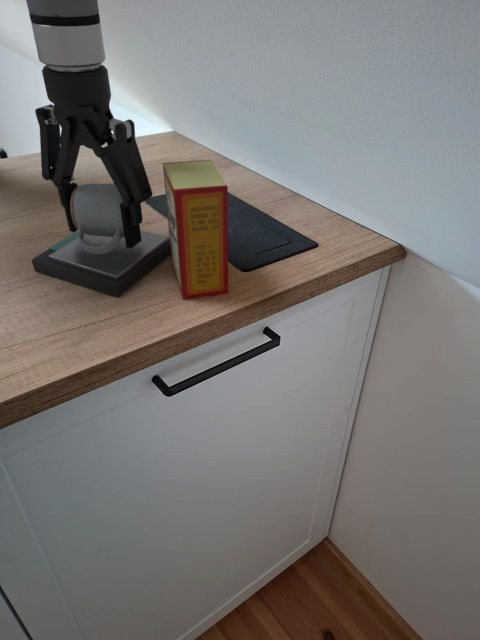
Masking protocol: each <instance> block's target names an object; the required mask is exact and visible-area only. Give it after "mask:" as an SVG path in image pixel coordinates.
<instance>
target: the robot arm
mask: <svg viewBox="0 0 480 640" xmlns="http://www.w3.org/2000/svg"><path fill="white" fill-rule="evenodd" d="M25 2H26V6H27V10H28V14H29V20H30V23H31V28H32V33H33V38H34V43H35V47H36V48H35V49H36V52H37V56H38V61H39V62H40V63H41V64H43V65H44V66H43V68H42V70H41V74H42V79H43V83H44V87H45V92H46V97H47V99H48V101H49V102H50V104H47V105H43V106H41V107H37V108H35V110H34V114H35V117H36V120H37V124H38V127H39V145H40V146H39V147H40V164H41V177H42V179H44V180H45V181H50V182H52V183H53V185H54V187H55V188H56V189H57V193H58V197H59V198H58V199H59V202H60V205H61V207H62V208H64V209H63V210H64V212H65V213H64V214H65V217H66V221H67V225H68V230H69V232H71V233H75V232H77V231H78V230H77V229H76V227H75V225H74V223H73V220H72V216H71V210H70V202H71V196H72V193H73V191H74V189H75V188H76V187H78V186H79V185H78V183H76V182H73V181H75V180H76V178H74V172H75V168H76V165H77V160H78V157H79V153H80V148H81V147H84V148H87V149H90V150H92V152H93V154H94V156H96V157H97V158H99V159H100V160H101V162H102V165H103V166H104V168H105V169H106V171H107V174H108V175H109V177H110V179H111V180H112V183H114V184H115V186H116V187H117V189H118V191H119V193H120V195H121V197H122V198H123V200H124V202H123V203H121V204H120V210H121V216H122V223H123V229H124V236H125V242H126V247H127V248H130V249H131V248H132V247H134V246H135V245H136V244H138V243H139V242H141V241H142V239H141V232H140V230H141V225H140V224H142V223H143V220H144V219H143V210H142V203H144V202H145V201H147V200H149V199H151V198H152V197H153V191H152V187H151V184H150V181H149V178H148V175H147V171H146V169H145V166H144V162H143V159H142V155H141V153H140V149H139V146H138V143H137V140H136V128H135V127H136V126H135V122H134V121H133V119H126V120H121V119H117V118H115V117H114V115H113V113H112V110H111V108H110V103H111V99H112V92H111V85H110V77H109V71H108V68H107V67H106V66H105V65H104V64H103V63H104V62H105V61H106V51H105V45H104V37H103V32H102V30H103V29H102V25H101V24H102V23H101V17H100V9H99V1H98V0H25ZM51 103H52V104H51ZM105 144H106V145H105ZM104 145H105V146H104ZM130 192H131V194H130Z"/></svg>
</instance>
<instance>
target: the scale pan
mask: <svg viewBox="0 0 480 640" xmlns="http://www.w3.org/2000/svg"><path fill="white" fill-rule="evenodd" d="M140 232H141V239H142V241H141V242H139V243H138V244H136V245H135V246H134V247H132V248H131V249H130V248H127V247H126V242H125V238H121V240H120V242H119V244H118V245H117V247H116V248H114V249H113V250H112V251H110V252H108V253H105V254H92V253H89V252H87V251H86V250H84V249H83V247H82V246H81V244H80V242H79V240H78V238H77V239H75V240H74V241H72V242H70V243H69V244H67V245H65V246H64V247H62V248H61V249H59V250H57V251H56V252H54V253H52V254H51V255H49V259H50V261H53V262H57V263H60V264H63V265H66V266H70V267H73V268H76V269H80V270H83V271H86V272H89V273H93V274H96V275H99V276H103V277H106V278H109V279H112V280H116V281H118V280H119V279H121V278H122V277H123V276H124V275H126V274H127V273H128V272H130V271H131V270H132V269H134V268H135V267H136V266H137V265H139V264H140V263H141V262H143V261H144V260H145V259H147V258H148V257H149V256H150V255H152V254H153V253H154V252H156V251H157V250H158V249H160V248H161V247H162V246H163V245H165V244H166V243H167V242H168V238H169V237H167V236H165V235H161V234H156V233H153V232H149V231H145V230H141V229H140ZM112 238H113V237H107V236H91V235H86V234H84V239H83V241H84V243H86V244H87V245H90V246H92V247H99V246H102V245H104V244H106V243H108V242H109V241H110V240H111V239H112Z"/></svg>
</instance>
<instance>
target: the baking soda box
mask: <svg viewBox="0 0 480 640" xmlns="http://www.w3.org/2000/svg"><path fill="white" fill-rule="evenodd" d="M162 170H163V180H164V181H163V182H164V193H165V203H166V213H167V224H168V236H169V239H170V247H171V255H170V256H171V266H172V269H173V272H174V275H175V276H174V277H175V279H176V281H177V285H178V288H179V291H180V294H181V297H182V300H190V299H197V298H198V299H199V298H204V297H210V296H211V297H212V296H220V295H226V294H229V190H228V188H229V187H228V185H227V183H226V181H225V180H224V178H223V176H222V175H221V174H220V172H219V171H218V169H217V167H216V166H215V164H214V163H213V161H212V160H211V159H201V160H189V161H188V160H187V161H173V162H162Z"/></svg>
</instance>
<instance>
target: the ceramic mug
mask: <svg viewBox="0 0 480 640" xmlns="http://www.w3.org/2000/svg"><path fill="white" fill-rule="evenodd" d="M130 194H131V192H130ZM123 202H124V200H123V198H122V197H121V195H120V193H119V191H118V189H117V187H116V186H115V184H114V182H112V183H86V184H81V185H78V187H76V188H75V189H74V191H73V193H72V196H71V202H70V210H71V216H72V220H73V223H74V225H75V227H76V229H77V231H78V240H79V242H80V244H81V246H82V247H83V249H84V250H86V251H87V252H89V253H92V254H105V253H108V252H110V251H112V250H113V249H114V248H116V247H117V245H118V244H119V242H120V240H121V238H125V236H124V229H123V223H122V216H121V210H120V204H121V203H123ZM84 234H86V235H91V236H107V237H113V238H112V239H111V240H110V241H109V242H108V243H106V244H104V245H102V246H99V247H92V246H90V245H87V244H86V243H84V241H83V239H84Z"/></svg>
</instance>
